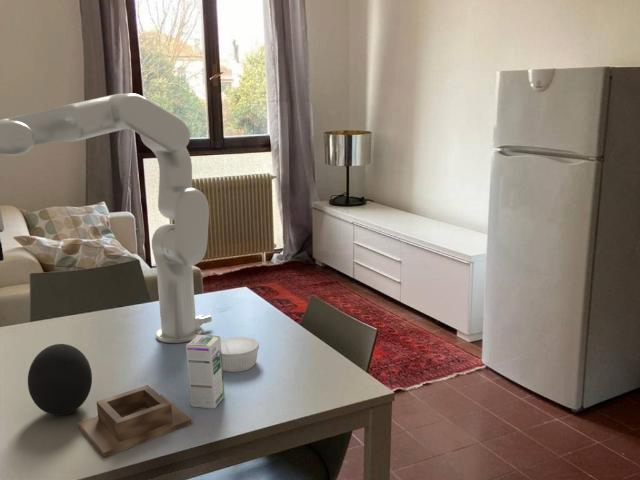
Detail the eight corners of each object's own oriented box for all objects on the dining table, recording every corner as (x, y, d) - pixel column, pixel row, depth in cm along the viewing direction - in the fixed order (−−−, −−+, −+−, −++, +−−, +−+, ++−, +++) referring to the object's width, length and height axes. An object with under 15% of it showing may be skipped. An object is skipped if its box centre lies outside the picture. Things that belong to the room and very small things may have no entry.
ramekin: (205, 365, 148) (203, 345, 147) (239, 351, 156) (238, 332, 155) (233, 379, 141) (232, 358, 140) (268, 363, 149) (267, 344, 148)
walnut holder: (161, 398, 132) (160, 377, 131) (191, 423, 122) (190, 401, 120) (79, 426, 121) (76, 404, 120) (104, 457, 110) (101, 433, 109)
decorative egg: (31, 432, 119) (21, 363, 116) (33, 404, 130) (24, 340, 127) (97, 419, 124) (89, 352, 120) (93, 393, 135) (86, 331, 131)
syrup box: (215, 409, 127) (211, 345, 124) (189, 406, 128) (185, 344, 125) (224, 396, 133) (221, 335, 129) (200, 394, 134) (196, 333, 130)
